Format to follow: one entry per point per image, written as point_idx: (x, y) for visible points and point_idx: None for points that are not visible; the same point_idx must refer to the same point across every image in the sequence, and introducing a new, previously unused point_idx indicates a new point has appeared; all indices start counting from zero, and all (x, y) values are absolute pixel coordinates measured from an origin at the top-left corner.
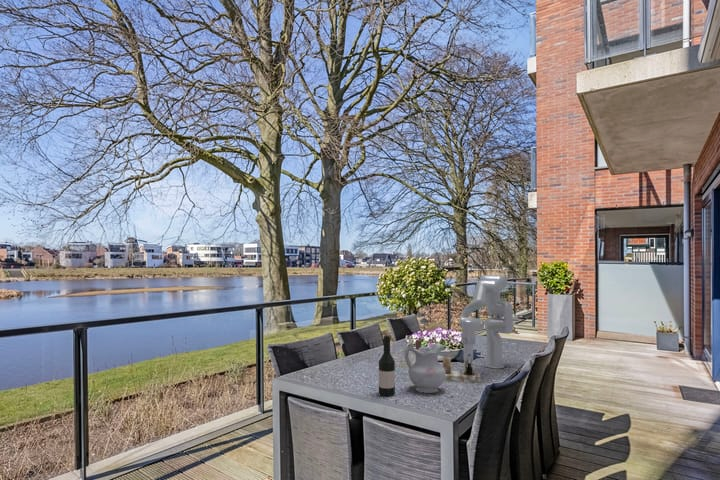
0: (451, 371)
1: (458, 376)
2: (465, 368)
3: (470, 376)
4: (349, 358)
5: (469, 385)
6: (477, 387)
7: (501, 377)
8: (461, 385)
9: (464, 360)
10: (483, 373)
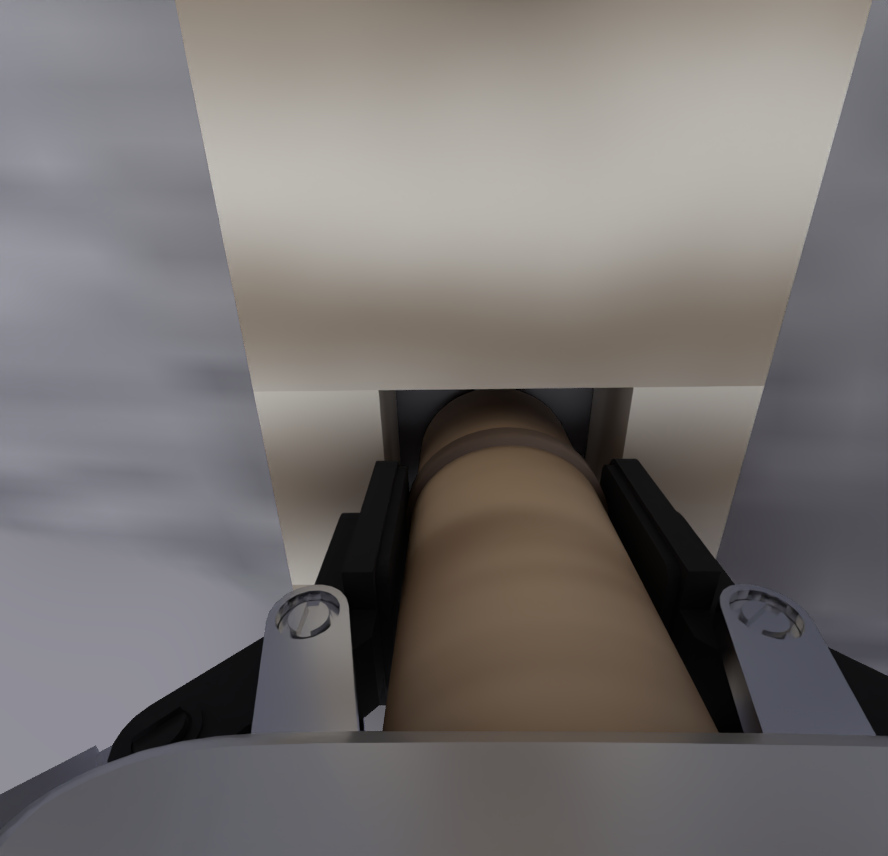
0: (733, 17)
1: (228, 249)
2: (457, 505)
3: (299, 513)
4: None
5: (101, 431)
6: (55, 532)
7: None
8: (22, 294)
9: (8, 833)
10: (860, 658)
